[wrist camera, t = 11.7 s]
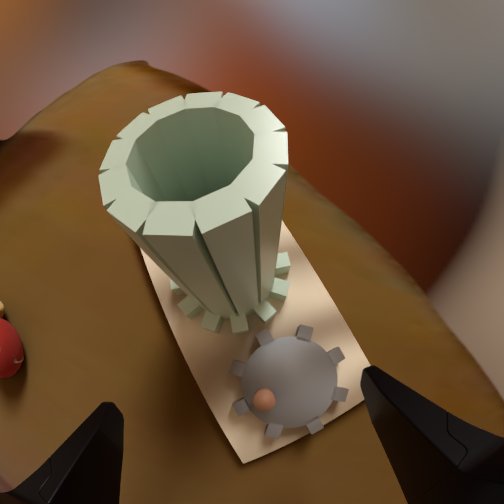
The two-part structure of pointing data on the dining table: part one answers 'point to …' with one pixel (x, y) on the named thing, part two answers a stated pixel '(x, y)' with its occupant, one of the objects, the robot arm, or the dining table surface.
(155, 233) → the gear sleeve
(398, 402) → the robot arm
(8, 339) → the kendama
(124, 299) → the dining table surface
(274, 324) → the gear board
